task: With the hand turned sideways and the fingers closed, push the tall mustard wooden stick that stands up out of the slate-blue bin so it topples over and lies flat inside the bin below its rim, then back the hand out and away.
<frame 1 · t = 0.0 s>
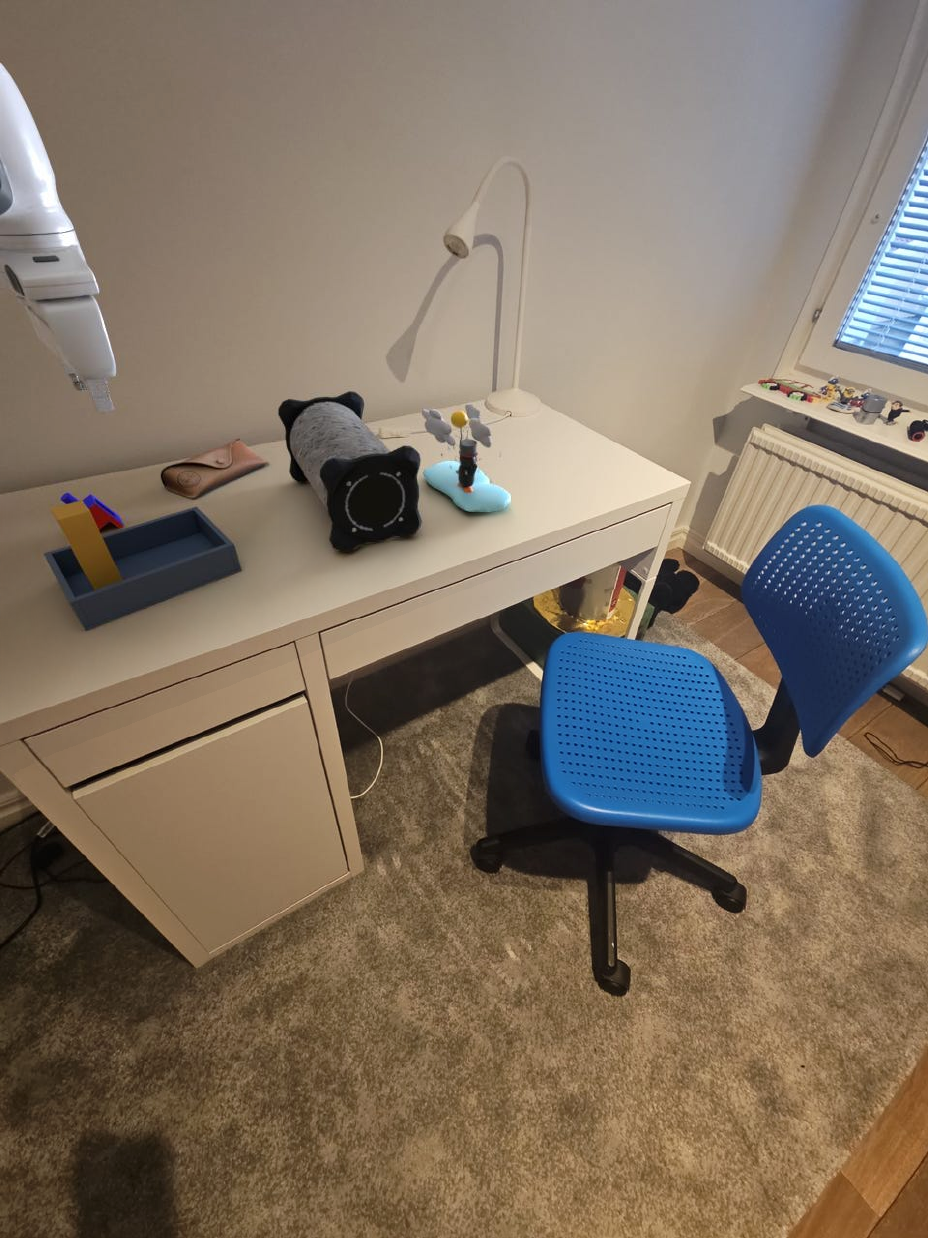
hand: (93, 399, 65), 23 cm above the table, tool pointing down, fingers open, 8 cm apart
toy building block: (101, 528, 86), on the table
speaker: (352, 507, 94), on the table
bin: (152, 575, 77), on the table
penguin figurine: (464, 493, 99), on the table
wooden stick: (109, 586, 74), point 1 cm above the table, touching bin
sunglasses case: (220, 476, 101), on the table
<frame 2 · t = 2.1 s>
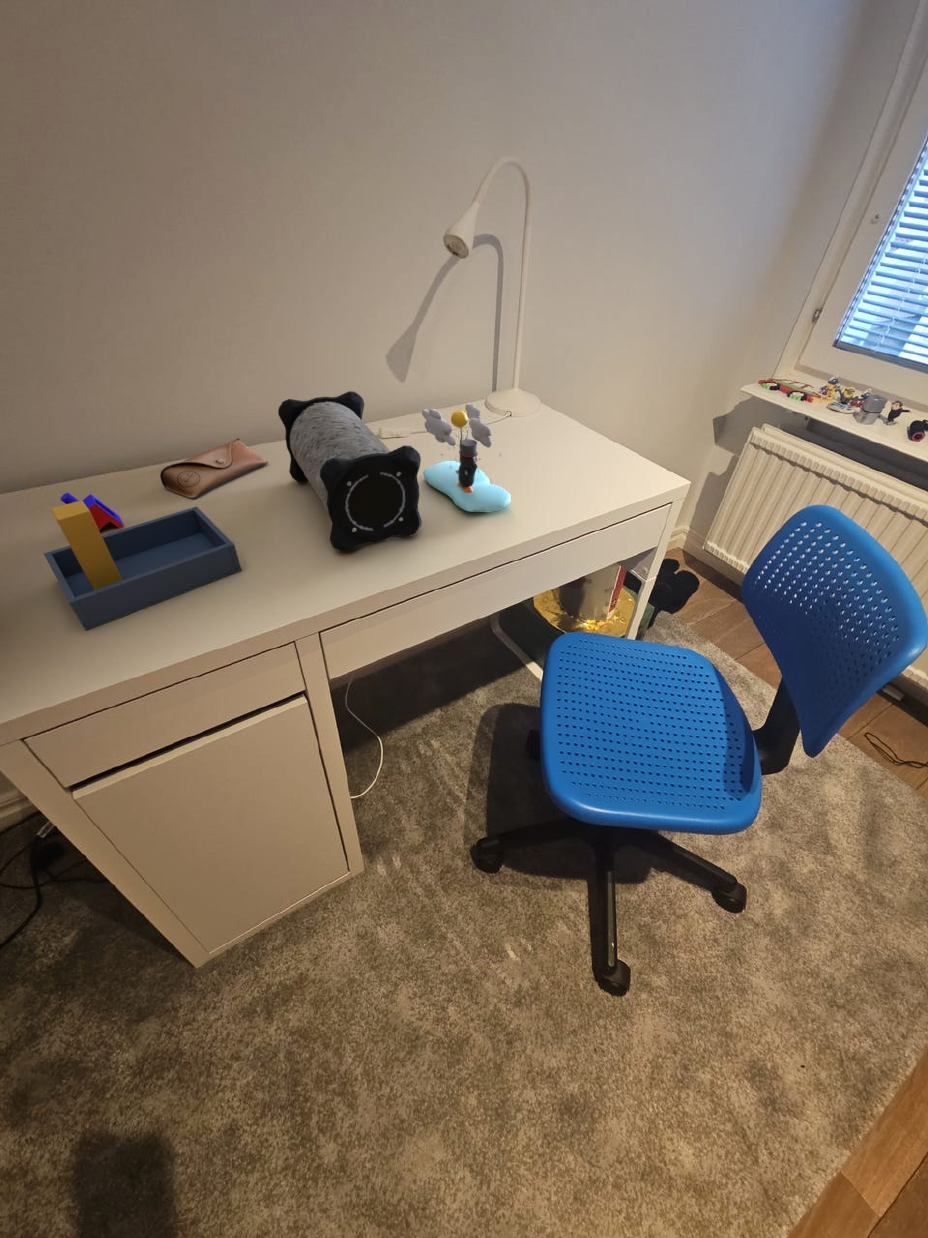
nothing on the table moved.
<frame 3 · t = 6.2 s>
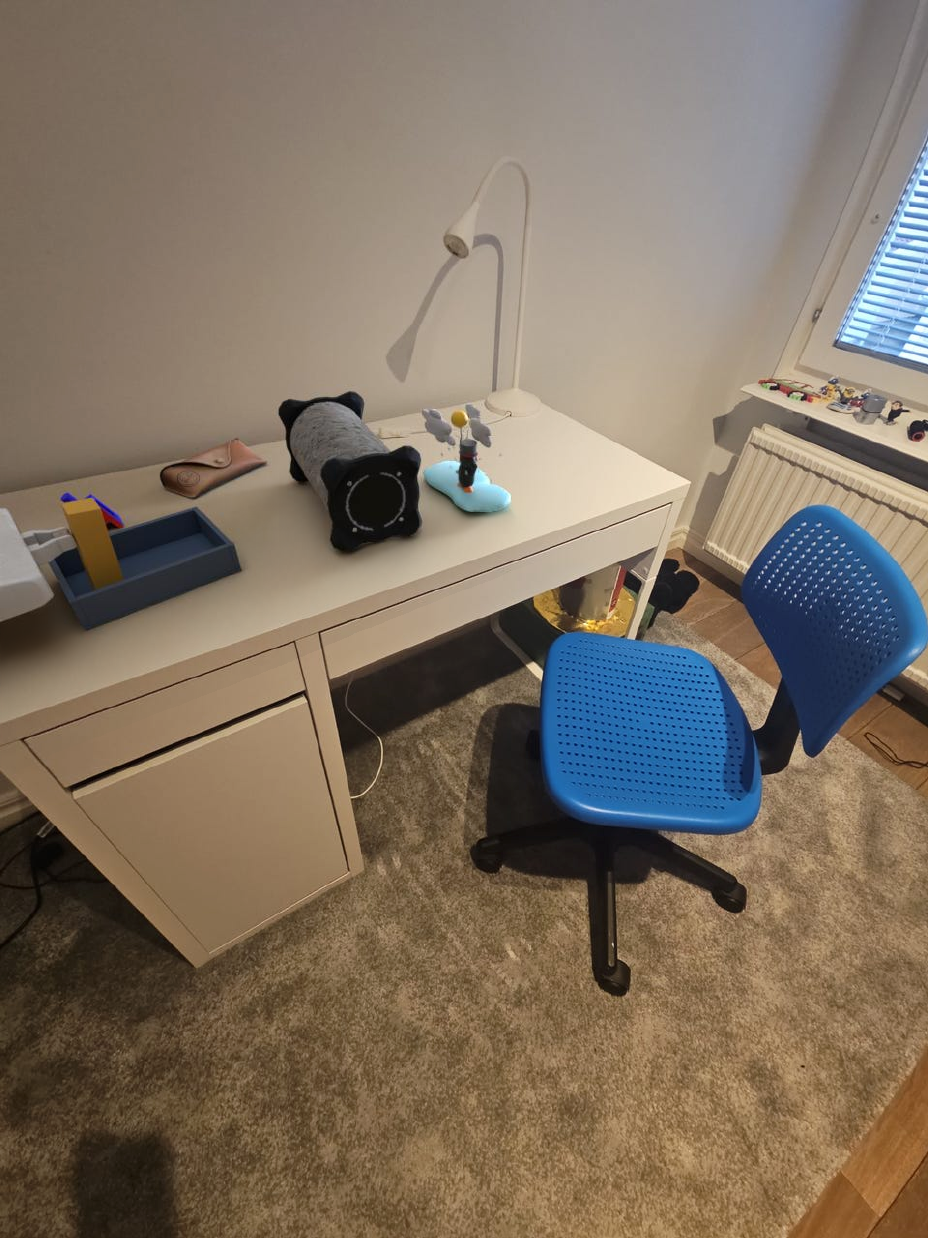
hand: (72, 536, 68), 9 cm above the table, tool horizontal, fingers closed
wooden stick: (108, 585, 74), point 1 cm above the table, tilted 6°, touching bin, gripper
everything else where it was.
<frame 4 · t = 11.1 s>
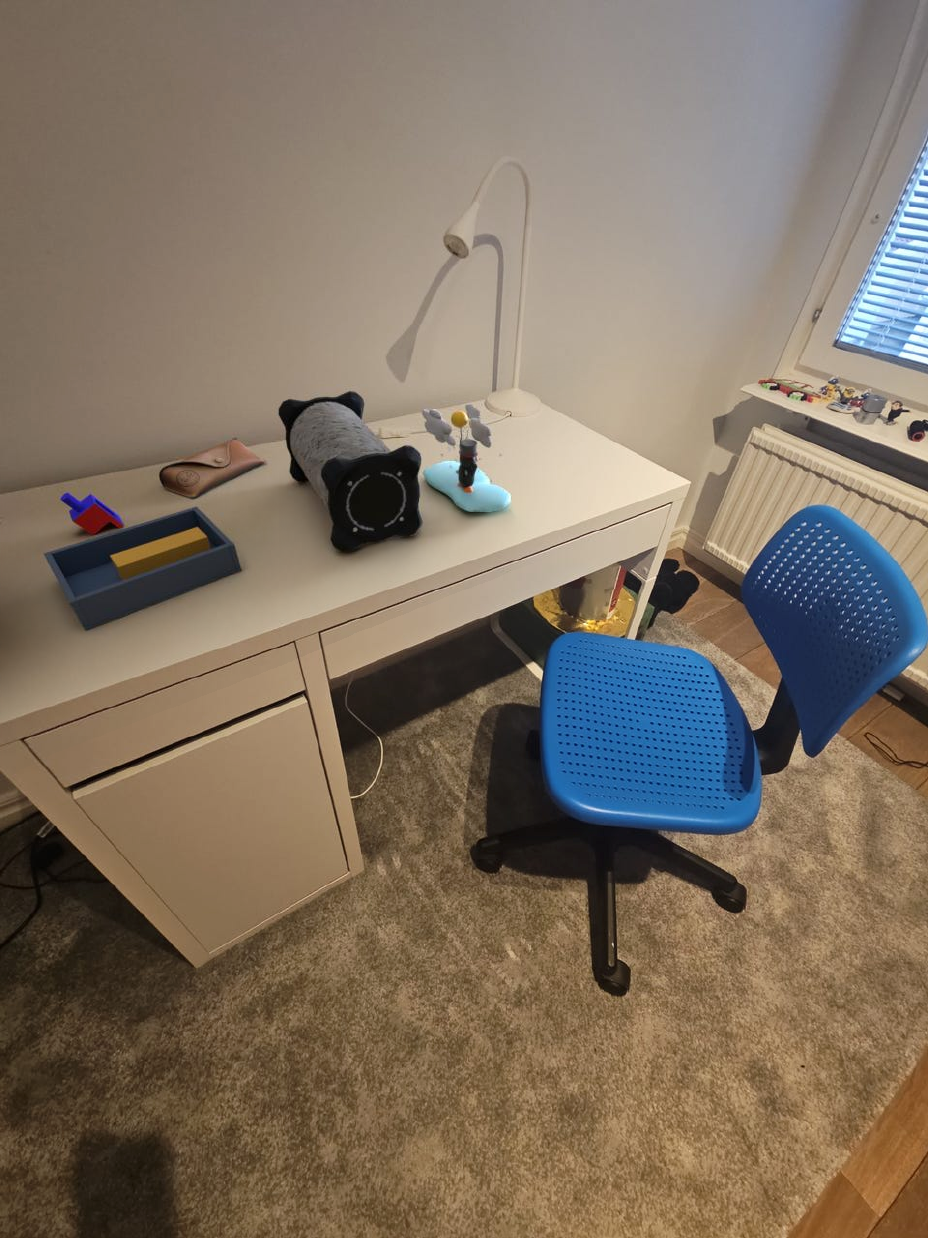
wooden stick: (118, 571, 74), point 2 cm above the table, tilted 90°, touching bin
everything else where it was.
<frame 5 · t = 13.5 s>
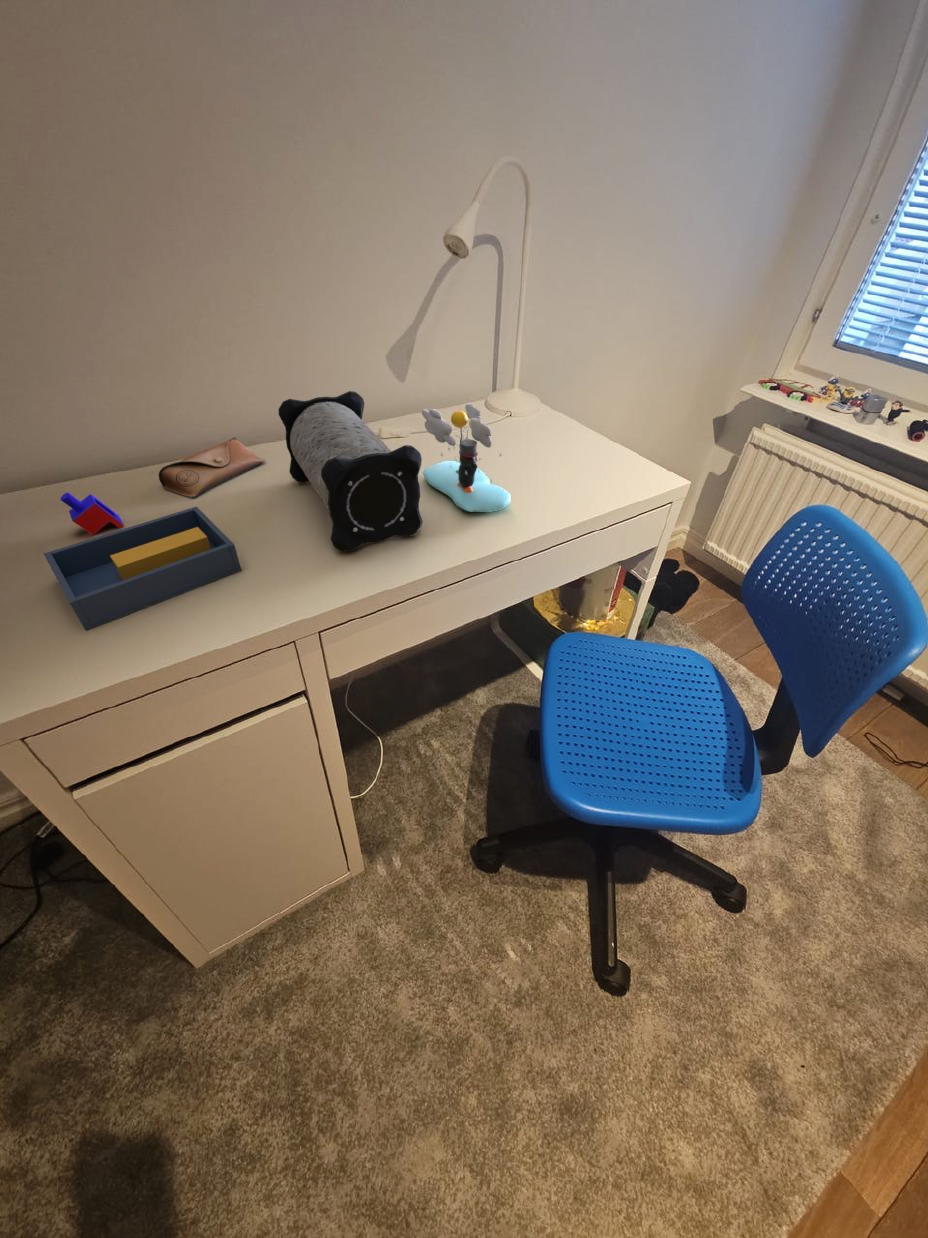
nothing on the table moved.
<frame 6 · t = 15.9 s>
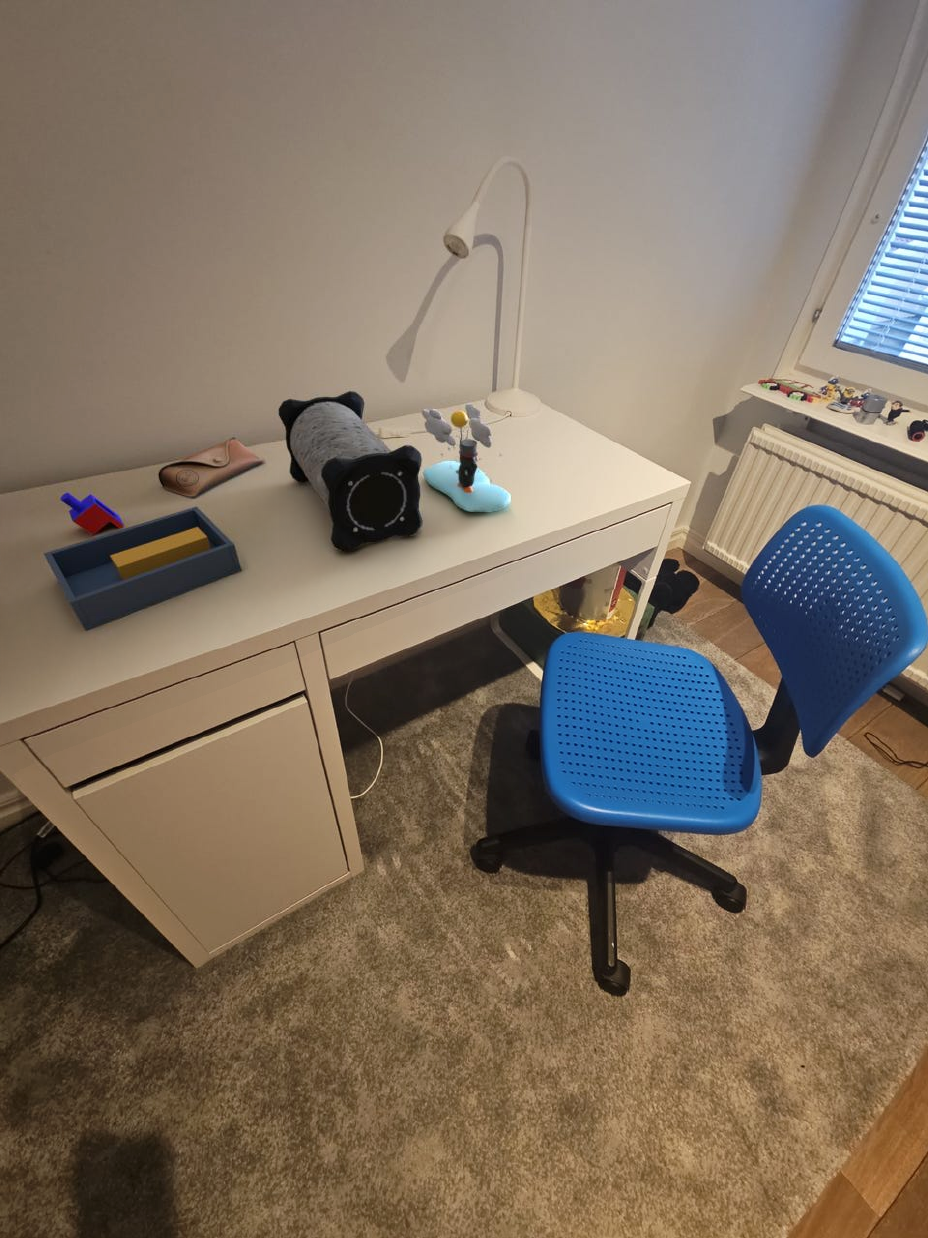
nothing on the table moved.
at the end: wooden stick inside the target area in the bin (3.6 cm from its centre), point 2.3 cm above the bin's base; wooden stick tilted 90° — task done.
